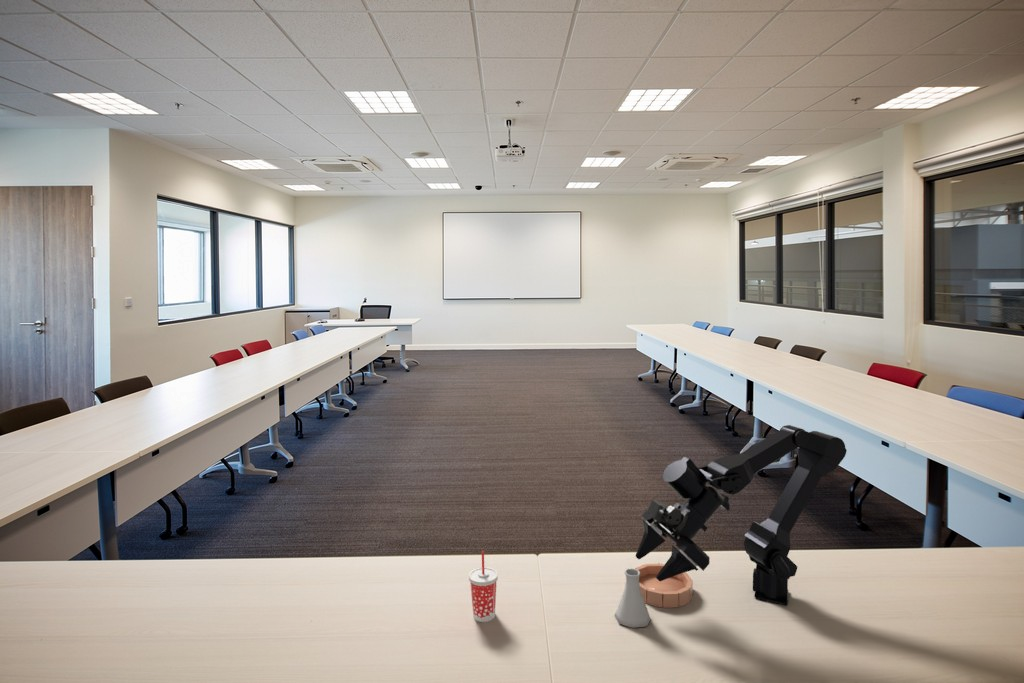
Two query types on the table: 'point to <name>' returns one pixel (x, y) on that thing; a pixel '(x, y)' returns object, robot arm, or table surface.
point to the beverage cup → (483, 592)
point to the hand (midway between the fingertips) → (647, 568)
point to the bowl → (664, 587)
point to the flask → (632, 603)
